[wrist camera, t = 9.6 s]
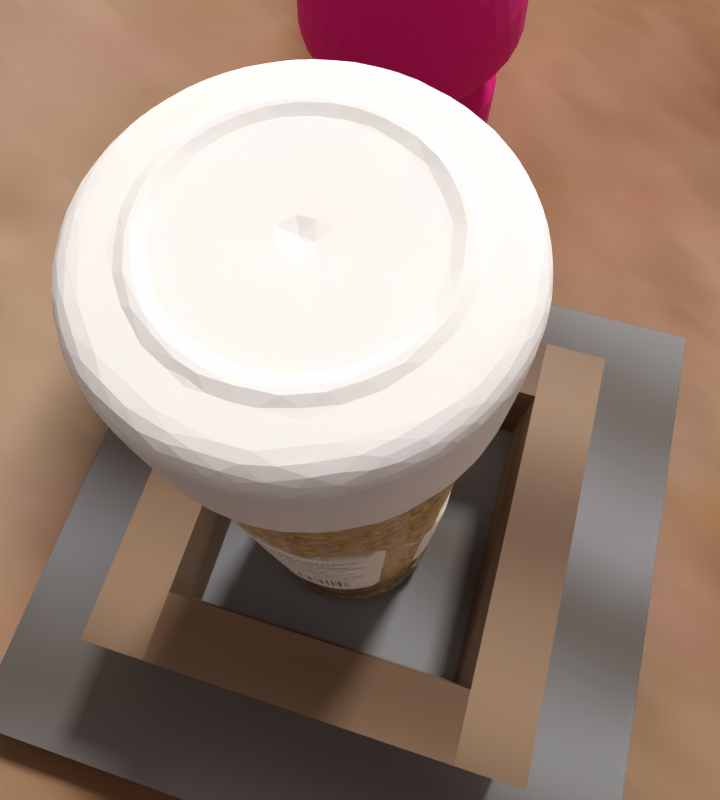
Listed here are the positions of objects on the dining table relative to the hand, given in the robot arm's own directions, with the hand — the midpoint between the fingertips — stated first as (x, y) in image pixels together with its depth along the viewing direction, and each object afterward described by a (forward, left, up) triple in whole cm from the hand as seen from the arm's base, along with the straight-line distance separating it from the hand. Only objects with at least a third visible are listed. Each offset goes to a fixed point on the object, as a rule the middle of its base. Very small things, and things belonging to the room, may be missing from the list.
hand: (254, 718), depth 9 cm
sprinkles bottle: (+3, -3, -8) cm, 10 cm away
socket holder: (+3, -4, -9) cm, 10 cm away
